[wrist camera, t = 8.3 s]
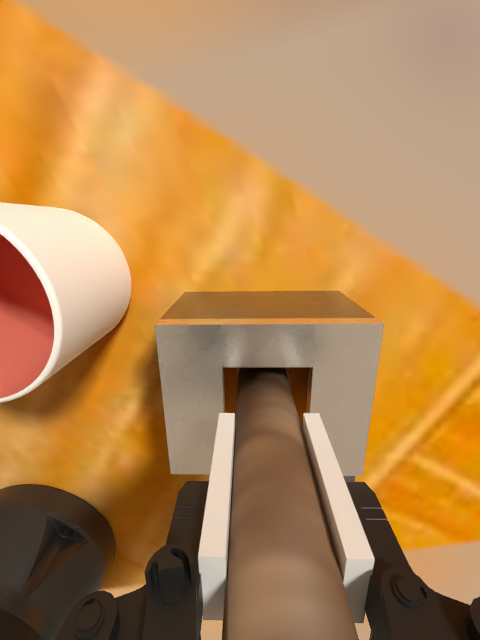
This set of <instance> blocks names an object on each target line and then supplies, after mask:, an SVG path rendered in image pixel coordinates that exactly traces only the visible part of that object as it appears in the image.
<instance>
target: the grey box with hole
mask: <svg viewBox="0 0 480 640" xmlns="http://www.w3.org/2000/svg"><path fill="white" fill-rule="evenodd" d="M383 328H384V323H382V322H381V321H379V320H378V319H377V318H375V317H374V316H373V315H371V314H370V313H368V312H367V311H366V310H364V309H363V308H361V307H360V306H359V305H357V304H356V303H355V302H353V301H352V300H350V299H349V298H348V297H346V296H345V295H344V294H342V293H341V292H339V291H273V292H185V293H184V294H183V295H182V296H181V297H180V298H179V299H178V300H177V301H176V303H175V304H174V305H173V306H172V307H171V308H170V309H169V310H168V311H167V312H166V313H165V314H164V315H163V316H162V318H161V319H160V320H159V321H158V322H157V323H156V324H155V332H156V342H157V351H158V360H159V370H160V379H161V388H162V398H163V407H164V416H165V426H166V435H167V444H168V454H169V463H170V472H171V474H206V475H210V472H211V465H212V459H213V452H214V445H215V438H216V432H217V425H218V418H219V413H225V390H224V367H309V374H308V390H307V405H306V413H319V415H320V417H321V420H322V422H323V425H324V428H325V430H326V433H327V436H328V438H329V441H330V443H331V446H332V449H333V451H334V454H335V456H336V459H337V462H338V464H339V467H340V470H341V472H342V475H343V476H362V473H363V466H364V459H365V452H366V446H367V439H368V432H369V425H370V418H371V411H372V404H373V397H374V390H375V383H376V376H377V369H378V362H379V355H380V348H381V341H382V334H383Z"/></svg>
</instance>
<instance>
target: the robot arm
mask: <svg viewBox="0 0 480 640" xmlns="http://www.w3.org/2000/svg"><path fill="white" fill-rule="evenodd" d="M302 431H303V435H304V439H305V443H306V446H307V450H308V454H309V457H310V461H311V465H312V468H313V472H314V476H315V480H316V483H317V487H318V491H319V494H320V498H321V502H322V506H323V509H324V513H325V517H326V520H327V524H328V528H329V532H330V535H331V539H332V543H333V546H334V550H335V554H336V557H337V561H338V565H339V569H340V572H341V576H342V580H343V583H344V587H345V591H346V595H347V598H348V602H349V606H350V609H351V613H352V617H353V620H354V623H363V622H364V616H365V612H366V615H367V618H368V622H369V625H370V628H371V634H370V639H369V640H480V597H478V598H476V599H474V600H473V602H472V604H471V605H468V604H465V603H463V602H460V601H457V600H454V599H451V598H449V597H446V596H443V595H441V594H439V593H437V592H435V591H433V590H432V589H430V588H429V587H428V586H427V585H426V584H425V583H424V582H423V581H422V579H421V578H420V577H418V576H417V575H416V574H415V573H414V572H413V571H412V569H411V567H410V566H409V564H408V562H407V560H406V557H405V555H404V554H403V551H402V549H401V547H400V545H399V543H398V541H397V539H396V536H395V534H394V532H393V530H392V528H391V526H390V524H389V522H388V521H387V518H386V516H385V513H384V511H383V510H382V508H381V505H380V503H379V501H378V499H377V497H376V495H375V493H374V492H373V491H372V490H371V489H370V488H369V487H368V486H367V484H366V483H365V482H345V480H344V477H343V475H342V472H341V470H340V467H339V464H338V462H337V459H336V456H335V454H334V451H333V449H332V446H331V443H330V441H329V438H328V436H327V433H326V430H325V428H324V425H323V422H322V420H321V417H320V415H319V413H303V426H302ZM234 441H235V413H219V418H218V425H217V432H216V438H215V445H214V452H213V459H212V465H211V472H210V479H209V481H187V482H186V483H185V485H184V486H183V488H182V489H181V490H180V492H179V494H178V498H177V502H176V507H175V510H174V514H173V519H172V522H171V526H170V530H169V533H168V537H167V541H166V545H165V546H164V547H162V548H160V549H159V550H158V551H157V552H155V553H154V554H153V556H152V557H151V559H150V560H149V562H148V564H147V567H146V570H145V578H146V584H145V585H144V586H143V587H141V588H139V589H137V590H135V591H133V592H130V593H128V594H125V595H122V596H119V597H117V598H114V597H113V595H112V594H111V593H108V592H106V591H99V589H100V588H101V586H102V584H103V583H104V581H105V578H106V576H107V574H108V571H109V569H110V566H111V564H112V561H113V559H114V555H115V539H114V536H113V533H112V531H111V529H110V527H109V525H108V523H107V522H106V521H105V519H104V518H103V517H102V516H101V515H100V513H98V512H97V511H96V510H95V509H94V508H93V507H92V506H90V505H89V504H88V503H86V502H85V501H83V500H82V499H80V498H78V497H76V496H74V495H72V494H70V493H68V492H65V491H62V490H59V489H56V488H52V487H48V486H42V485H16V486H10V487H7V488H3V489H1V490H0V640H201V635H200V631H201V623H202V614H203V620H223V614H224V597H225V585H226V578H227V561H228V544H229V527H230V510H231V492H232V475H233V458H234Z"/></svg>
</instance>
